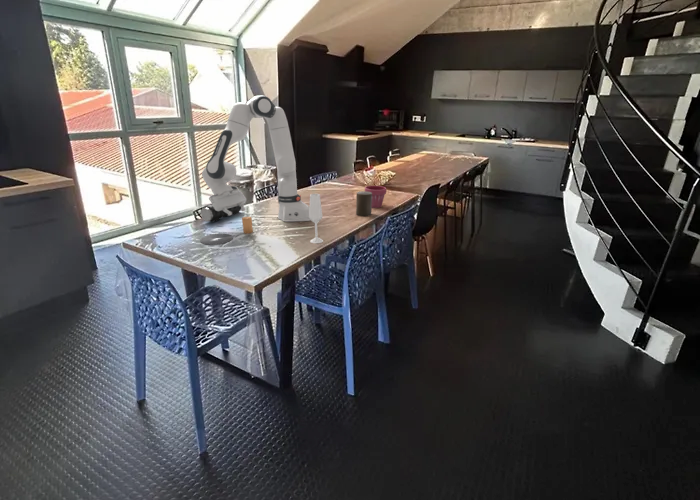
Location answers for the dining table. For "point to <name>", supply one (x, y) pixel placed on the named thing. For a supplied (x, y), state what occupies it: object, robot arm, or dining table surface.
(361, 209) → the pillar candle
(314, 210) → the champagne flute
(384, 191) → the plant pot
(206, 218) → the muzzle brake
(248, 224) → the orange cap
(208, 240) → the slate plate
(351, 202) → the dining table surface
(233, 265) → the dining table surface
